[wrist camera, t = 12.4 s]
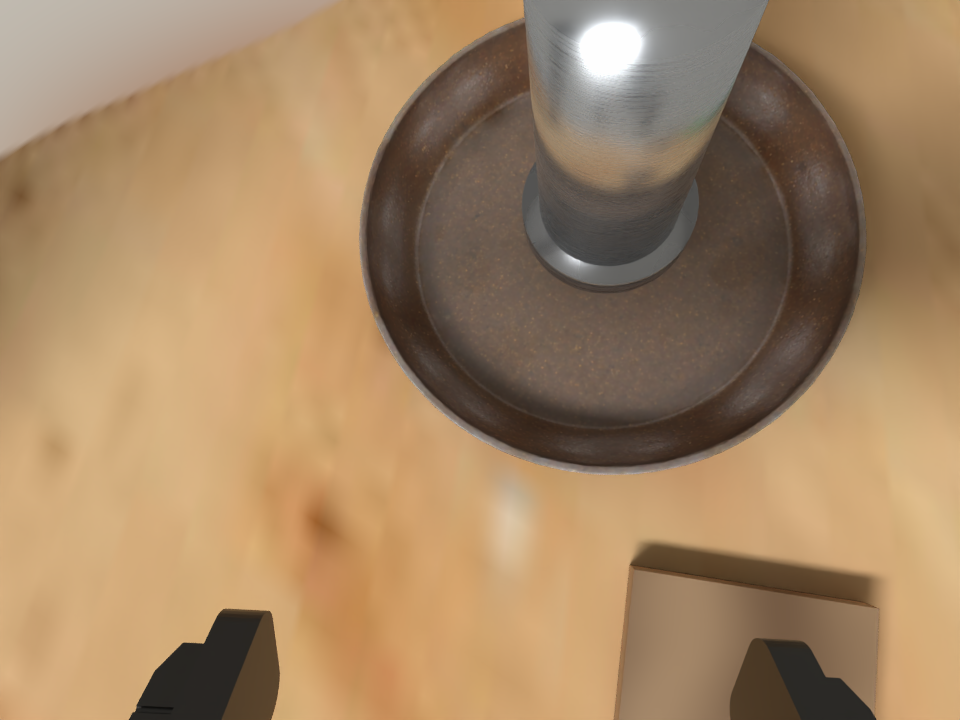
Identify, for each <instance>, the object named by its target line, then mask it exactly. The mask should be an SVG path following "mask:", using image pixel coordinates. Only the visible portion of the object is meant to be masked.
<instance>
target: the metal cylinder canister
mask: <svg viewBox="0 0 960 720" xmlns="http://www.w3.org/2000/svg"><path fill="white" fill-rule="evenodd" d="M768 1H769V0H523V2H524V15H525V27H526V40H527V53H528V65H529V78H530V91H531V104H532V116H533V129H534V142H535V155H536V162H535V163H534V165H533V166H532V168H531V170H530V172H529V174H528V176H527V179H526V182H525V185H524V190H523V195H522V215H523V222H524V229H525V234H526V238H527V241H528V243H529V246H530V248H531V250H532V252H533V254H534V255H535V257H536V258H537V260H538V261H539V262H540V264H541V265H542V266H543V267H544V268H545V269H546V270H547V271H548V272H549V273H550V274H552V275H553V276H554V277H556V278H557V279H558V280H560V281H562V282H564V283H565V284H567V285H569V286H572V287H574V288H577V289H580V290H584V291H588V292H594V293H620V292H625V291H630V290H634V289H636V288H639V287H642V286H644V285H646V284H648V283H650V282H652V281H654V280H655V279H657V278H658V277H660V276H661V275H663V274H664V273H665V272H666V271H667V270H668V269H669V268H670V267H671V266H672V265H673V264H674V263H675V262H676V261H677V259H678V258H679V257H680V255H681V253H682V252H683V250H684V248H685V246H686V244H687V242H688V240H689V238H690V236H691V234H692V232H693V229H694V227H695V224H696V220H697V217H698V209H699V194H698V187H697V183H696V180H695V176H696V173H697V171H698V169H699V166H700V164H701V161H702V159H703V157H704V154H705V152H706V150H707V147H708V145H709V142H710V140H711V138H712V135H713V133H714V130H715V128H716V126H717V123H718V121H719V118H720V116H721V114H722V111H723V109H724V106H725V104H726V102H727V99H728V97H729V94H730V92H731V90H732V87H733V85H734V82H735V80H736V78H737V75H738V73H739V70H740V68H741V66H742V63H743V61H744V59H745V56H746V54H747V51H748V49H749V47H750V44H751V42H752V39H753V37H754V35H755V32H756V30H757V27H758V25H759V23H760V20H761V18H762V15H763V13H764V11H765V8H766V6H767V3H768Z"/></svg>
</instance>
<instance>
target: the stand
mask: <svg viewBox="0 0 960 720" xmlns="http://www.w3.org/2000/svg"><path fill="white" fill-rule="evenodd" d="M878 627H879V609H878V608H876V607H874V606H871V605H869V604H866V603H864V602H858V601H852V600H846V599H840V598H833V597H827V596H821V595H815V594H808V593H802V592H796V591H790V590H783V589H777V588H771V587H765V586H758V585H752V584H746V583H740V582H733V581H727V580H721V579H715V578H708V577H702V576H696V575H690V574H683V573H677V572H671V571H665V570H658V569H652V568H646V567H640V566H633V565H630V567H629V577H628V587H627V597H626V606H625V616H624V626H623V636H622V645H621V655H620V665H619V674H618V684H617V694H616V704H615V713H614V720H730V697H731V693H732V690H733V688H734V685H735V682H736V680H737V677H738V674H739V672H740V669H741V666H742V663H743V661H744V658H745V655H746V653H747V650H748V647H749V645H750V643H751V641H752V640H753V639H754V638H769V639H788V640H801V641H803V642H805V643H806V644H807V645H808V646H809V647H810V649H811V650H812V652H813V654H814V656H815V658H816V659H817V661H818V663H819V665H820V667H821V669H822V671H823V673H824V675H825V676H826V677H833V678H841V679H842V680H843V681H844V682H845V683H846V684H847V685H848V686H849V687H850V688H851V689H852V691H853V692H854V693H855V694H856V695H857V696H858V697H859V698H860V699H861V700H862V701H863V702H864V703H865V704H866V705H867V706H868V707H869V708H870V709H871V711H872V713H873V714H874V716H875V697H876V674H877V650H878Z"/></svg>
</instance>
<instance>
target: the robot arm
mask: <svg viewBox="0 0 960 720" xmlns="http://www.w3.org/2000/svg"><path fill="white" fill-rule="evenodd" d="M279 677H280V671H279V662H278V655H277V647H276V640H275V632H274V625H273V618H272V614H271V612H270V611H260V610H240V609H223V610H222V611H221V612H220V613H219V614H218V616H217V618H216V620H215V622H214V624H213V626H212V628H211V630H210V632H209V634H208V636H207V639H206V641H205V643H204V644H200V643H182V644H181V645H180V646H179V647H178V648H177V649H176V650H175V651H174V652H173V653H172V654H171V655H170V656H169V657H168V658H167V659H166V660H165V661H164V662H163V663H162V664H161V665H160V666H159V667H158V668H157V669H156V670H155V672H154V673H153V675H152V677H151V679H150V681H149V683H148V685H147V687H146V689H145V690H144V692H143V694H142V696H141V698H140V700H139V702H138V704H137V708H136V711H135V713H134V712H133V713H132V715H131V717H130V719H129V720H271V718H272V715H273V712H274V709H275V705H276V700H277V695H278V689H279ZM730 720H876V718H875V716H874V714H873V713H872V711H871V709H870V708H869V707H868V706H867V705H866V704H865V703H864V702H863V701H862V700H861V699H860V698H859V697H858V696H857V695H856V694H855V693H854V692H853V691H852V689H851V688H850V687H849V686H848V685H847V684H846V683H845V682H844V681H843V680H842V679H841V678H833V677H826V676H825V675H824V673H823V671H822V669H821V667H820V665H819V663H818V661H817V659H816V658H815V656H814V654H813V652H812V650H811V649H810V647H809V646H808V645H807V644H806V643H805V642H803V641H801V640H788V639H769V638H754V639H753V640H752V641H751V643H750V645H749V647H748V650H747V653H746V655H745V658H744V661H743V663H742V666H741V669H740V672H739V674H738V677H737V680H736V682H735V685H734V688H733V690H732V693H731V697H730Z"/></svg>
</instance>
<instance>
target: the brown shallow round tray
mask: <svg viewBox="0 0 960 720" xmlns="http://www.w3.org/2000/svg"><path fill="white" fill-rule="evenodd" d="M535 162H536V155H535V142H534V129H533V116H532V104H531V91H530V78H529V65H528V53H527V40H526V27H525V18H522V19H519V20H517V21H515V22H512V23H509V24H506V25H504V26H502V27H500V28H498V29H496V30H494V31H491V32H489V33H487V34H485V35H484V36H483V37H481V38H479V39H477V40H475V41H474V42H472V43H471V44H469V45H467V46H466V47H465V48H463V49H462V50H460V51H459V52H457V53H456V54H454V55H453V56H452V57H451V58H450V59H449V60H447V61H446V62H445V63H444V64H443V65H442V66H440V67H439V68H438V69H437V70H436V71H435V72H434V73H432V74H431V75H430V76H429V77H428V78H427V79H426V80H425V81H424V82H423V83H422V84H421V85H420V87H419V88H418V89H417V90H416V91H415V92H414V93H413V95H412V96H411V97H410V98H409V99H408V101H407V102H406V103H405V105H404V106H403V107H402V109H401V110H400V111H399V113H398V114H397V116H396V117H395V119H394V121H393V122H392V124H391V125H390V128H389V129H388V131H387V133H386V134H385V136H384V138H383V141H382V143H381V145H380V147H379V148H378V151H377V153H376V156H375V159H374V161H373V164H372V167H371V170H370V173H369V177H368V181H367V184H366V188H365V192H364V198H363V204H362V210H361V217H360V237H359V240H360V260H361V268H362V275H363V281H364V286H365V290H366V294H367V298H368V301H369V304H370V308H371V311H372V313H373V316H374V319H375V322H376V324H377V327H378V329H379V331H380V333H381V335H382V337H383V339H384V341H385V343H386V344H387V346H388V348H389V350H390V352H391V353H392V355H393V357H394V358H395V360H396V361H397V363H398V364H399V366H400V367H401V369H402V370H403V372H404V373H405V374H406V376H407V377H408V378H409V379H410V381H411V382H412V383H413V384H414V385H415V386H416V387H417V389H418V390H419V391H420V392H421V393H422V394H423V395H424V396H425V397H426V398H427V399H428V400H429V401H430V402H431V403H432V404H433V405H434V406H435V407H436V408H437V409H438V410H439V411H440V412H441V413H443V414H444V415H445V416H446V417H447V418H449V419H450V420H451V421H452V422H454V423H455V424H456V425H458V426H459V427H461V428H462V429H464V430H465V431H467V432H468V433H470V434H471V435H473V436H474V437H476V438H477V439H479V440H481V441H483V442H485V443H486V444H488V445H490V446H492V447H494V448H496V449H498V450H501V451H503V452H505V453H507V454H510V455H512V456H515V457H518V458H520V459H523V460H526V461H529V462H532V463H535V464H538V465H542V466H546V467H551V468H555V469H560V470H565V471H571V472H579V473H586V474H601V475H626V474H640V473H648V472H656V471H661V470H666V469H671V468H675V467H680V466H685V465H688V464H691V463H694V462H697V461H700V460H703V459H706V458H709V457H711V456H714V455H716V454H718V453H721V452H723V451H725V450H727V449H729V448H731V447H733V446H735V445H737V444H739V443H741V442H743V441H744V440H746V439H748V438H750V437H751V436H753V435H754V434H756V433H757V432H759V431H760V430H762V429H763V428H765V427H766V426H767V425H769V424H770V423H772V422H773V421H774V420H776V419H777V418H778V417H780V416H781V415H782V414H783V413H784V412H785V411H786V410H787V409H788V408H789V407H790V406H791V405H793V404H794V403H795V402H796V401H797V400H798V399H799V398H800V397H801V396H802V395H803V394H804V393H805V392H806V390H807V389H808V388H809V387H810V386H811V385H812V384H813V382H814V381H815V380H816V378H817V377H818V376H819V374H820V373H821V372H822V370H823V369H824V367H825V366H826V365H827V363H828V362H829V360H830V359H831V357H832V355H833V354H834V352H835V350H836V349H837V347H838V345H839V343H840V341H841V339H842V337H843V335H844V333H845V331H846V329H847V327H848V325H849V322H850V320H851V317H852V315H853V312H854V309H855V305H856V302H857V299H858V296H859V292H860V287H861V282H862V277H863V271H864V264H865V255H866V220H865V212H864V204H863V197H862V193H861V188H860V184H859V180H858V176H857V172H856V169H855V166H854V164H853V161H852V158H851V155H850V153H849V151H848V149H847V146H846V144H845V142H844V140H843V138H842V136H841V134H840V132H839V130H838V129H837V127H836V125H835V122H834V121H833V120H832V118H831V117H830V116H829V114H828V113H827V111H826V110H825V108H824V107H823V105H822V104H821V103H820V101H819V100H818V99H817V97H816V96H815V95H814V93H813V92H812V91H811V90H810V89H809V88H808V87H807V86H806V85H805V84H804V82H803V81H802V80H801V79H800V78H799V77H798V76H797V75H796V74H795V73H793V72H792V71H791V70H790V69H789V68H788V67H787V66H786V65H785V64H784V63H782V62H781V61H780V60H779V59H778V58H776V57H775V56H774V55H772V54H771V53H769V52H768V51H766V50H764V49H763V48H761V47H760V46H758V45H757V44H755V43H753V42H751V44H750V47H749V49H748V51H747V54H746V56H745V59H744V61H743V63H742V66H741V68H740V70H739V73H738V75H737V78H736V80H735V82H734V85H733V87H732V90H731V92H730V94H729V97H728V99H727V102H726V104H725V106H724V109H723V111H722V114H721V116H720V118H719V121H718V123H717V126H716V128H715V130H714V133H713V135H712V138H711V140H710V142H709V145H708V147H707V150H706V152H705V154H704V157H703V159H702V161H701V164H700V166H699V169H698V171H697V173H696V176H695V180H696V183H697V187H698V194H699V209H698V217H697V220H696V224H695V227H694V229H693V232H692V234H691V236H690V238H689V240H688V242H687V244H686V246H685V248H684V250H683V252H682V253H681V255H680V257H679V258H678V259H677V261H676V262H675V263H674V264H673V265H672V266H671V267H670V268H669V269H668V270H667V271H666V272H665V273H664V274H663V275H661V276H660V277H658V278H657V279H655V280H654V281H652V282H650V283H648V284H646V285H644V286H642V287H639V288H636V289H634V290H630V291H625V292H620V293H594V292H588V291H584V290H580V289H577V288H574V287H572V286H569V285H567V284H565V283H564V282H562V281H560V280H558V279H557V278H556V277H554V276H553V275H552V274H550V273H549V272H548V271H547V270H546V269H545V268H544V267H543V266H542V265H541V264H540V262H539V261H538V260H537V258H536V257H535V255H534V254H533V252H532V250H531V248H530V246H529V243H528V241H527V238H526V234H525V229H524V222H523V215H522V195H523V190H524V185H525V182H526V179H527V176H528V174H529V172H530V170H531V168H532V166H533V165H534V163H535Z"/></svg>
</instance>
